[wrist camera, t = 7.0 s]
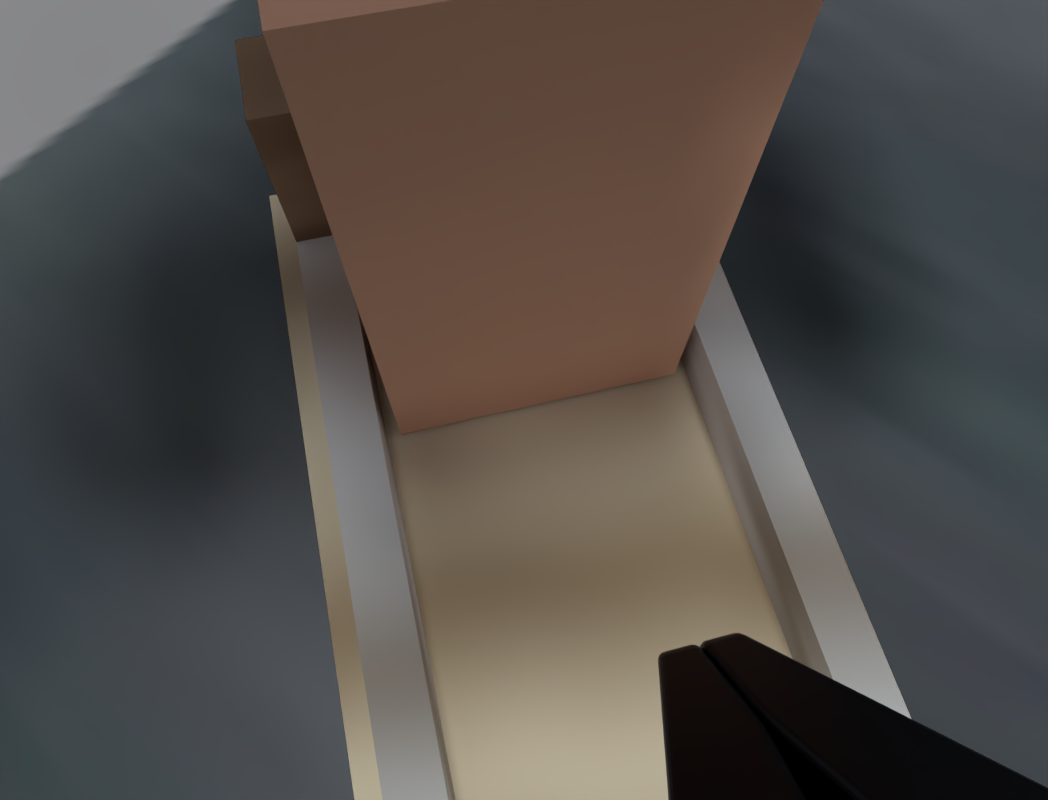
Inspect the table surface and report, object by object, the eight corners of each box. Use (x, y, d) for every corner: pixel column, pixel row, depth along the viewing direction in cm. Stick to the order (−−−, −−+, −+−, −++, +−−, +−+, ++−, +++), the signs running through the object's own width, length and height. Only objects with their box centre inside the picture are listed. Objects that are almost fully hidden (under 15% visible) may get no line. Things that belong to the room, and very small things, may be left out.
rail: (1103, 1286, 12) (1636, 1754, 6) (476, 1522, 11) (434, 2341, 5) (651, 163, 22) (702, -62, 16) (285, 233, 21) (193, 19, 15)
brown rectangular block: (674, 374, 17) (849, -64, 8) (400, 434, 17) (262, 30, 8) (620, 227, 19) (717, -274, 10) (369, 277, 18) (226, -209, 9)
